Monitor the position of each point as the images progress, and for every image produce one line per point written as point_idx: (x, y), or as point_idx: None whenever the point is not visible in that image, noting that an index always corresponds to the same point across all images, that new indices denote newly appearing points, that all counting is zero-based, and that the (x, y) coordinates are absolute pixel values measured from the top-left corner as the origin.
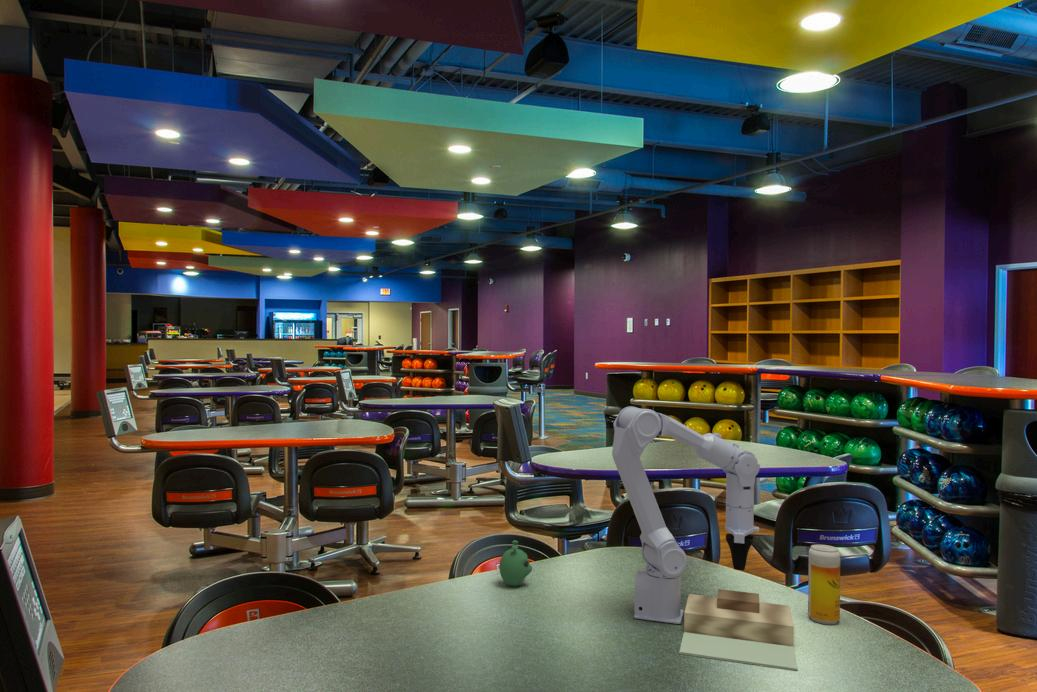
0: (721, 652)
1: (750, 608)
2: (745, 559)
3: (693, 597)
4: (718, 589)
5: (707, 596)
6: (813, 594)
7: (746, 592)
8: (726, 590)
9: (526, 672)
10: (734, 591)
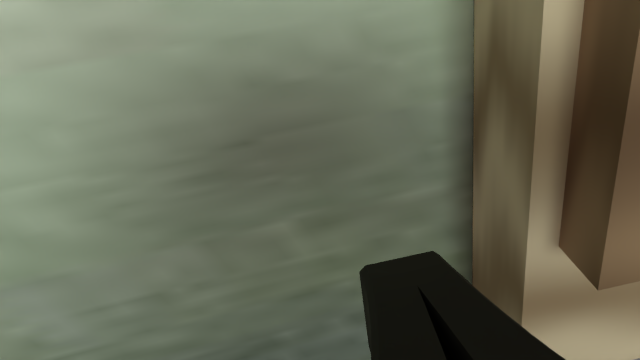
0: None
1: None
2: (530, 340)
3: (577, 353)
4: (608, 287)
5: (530, 305)
6: None
7: (631, 97)
8: (616, 239)
9: None
10: (625, 186)
